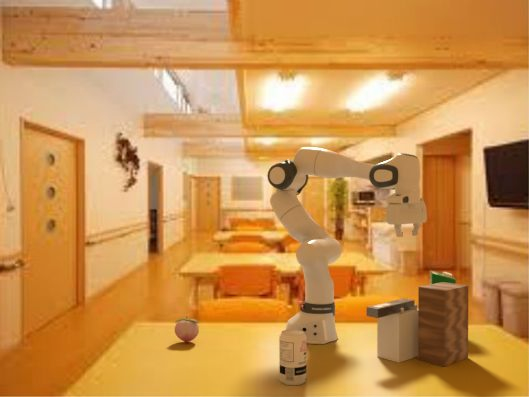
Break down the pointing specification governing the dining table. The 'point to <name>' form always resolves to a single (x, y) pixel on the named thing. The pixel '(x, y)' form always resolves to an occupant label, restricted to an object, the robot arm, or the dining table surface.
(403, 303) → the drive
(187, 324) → the decorative fruit
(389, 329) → the dock
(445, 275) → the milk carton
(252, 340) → the dining table surface
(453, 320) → the stand
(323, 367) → the dining table surface
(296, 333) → the supplement can
